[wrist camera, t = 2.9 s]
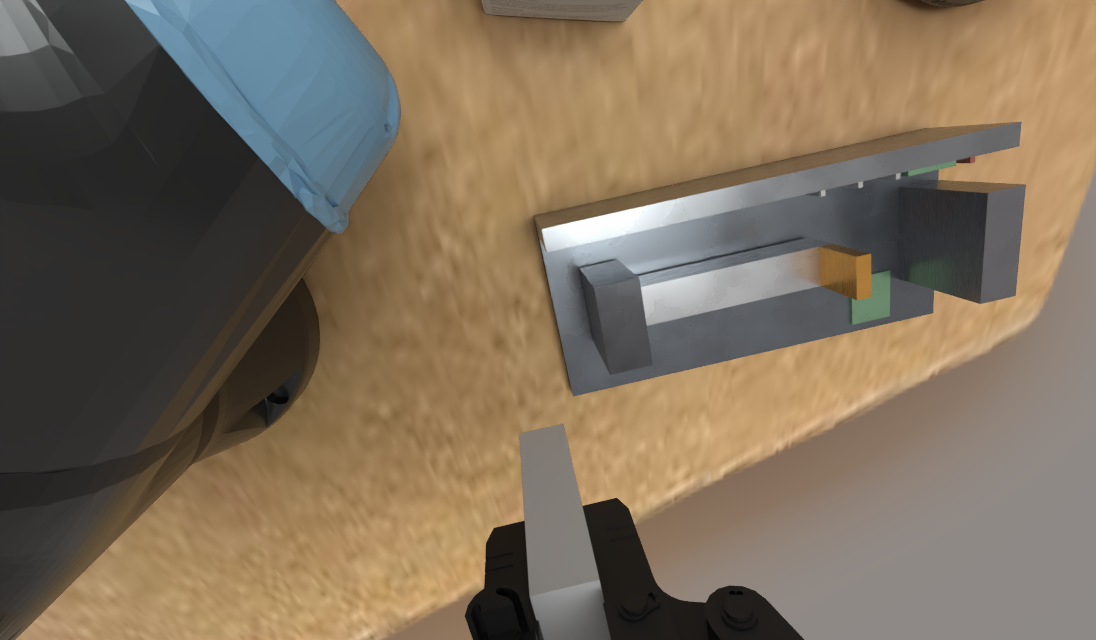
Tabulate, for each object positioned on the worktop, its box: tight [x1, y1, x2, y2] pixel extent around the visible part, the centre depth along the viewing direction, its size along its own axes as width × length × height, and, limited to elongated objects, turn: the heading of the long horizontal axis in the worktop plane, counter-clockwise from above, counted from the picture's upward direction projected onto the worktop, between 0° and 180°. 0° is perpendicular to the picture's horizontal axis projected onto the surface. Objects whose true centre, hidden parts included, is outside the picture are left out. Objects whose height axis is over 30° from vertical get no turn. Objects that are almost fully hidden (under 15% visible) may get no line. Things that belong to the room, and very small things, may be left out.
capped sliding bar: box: [580, 237, 871, 375], centre depth 29 cm, size 14×5×6 cm, turn 102°
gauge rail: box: [534, 122, 1026, 396], centre depth 30 cm, size 25×12×7 cm, turn 102°
